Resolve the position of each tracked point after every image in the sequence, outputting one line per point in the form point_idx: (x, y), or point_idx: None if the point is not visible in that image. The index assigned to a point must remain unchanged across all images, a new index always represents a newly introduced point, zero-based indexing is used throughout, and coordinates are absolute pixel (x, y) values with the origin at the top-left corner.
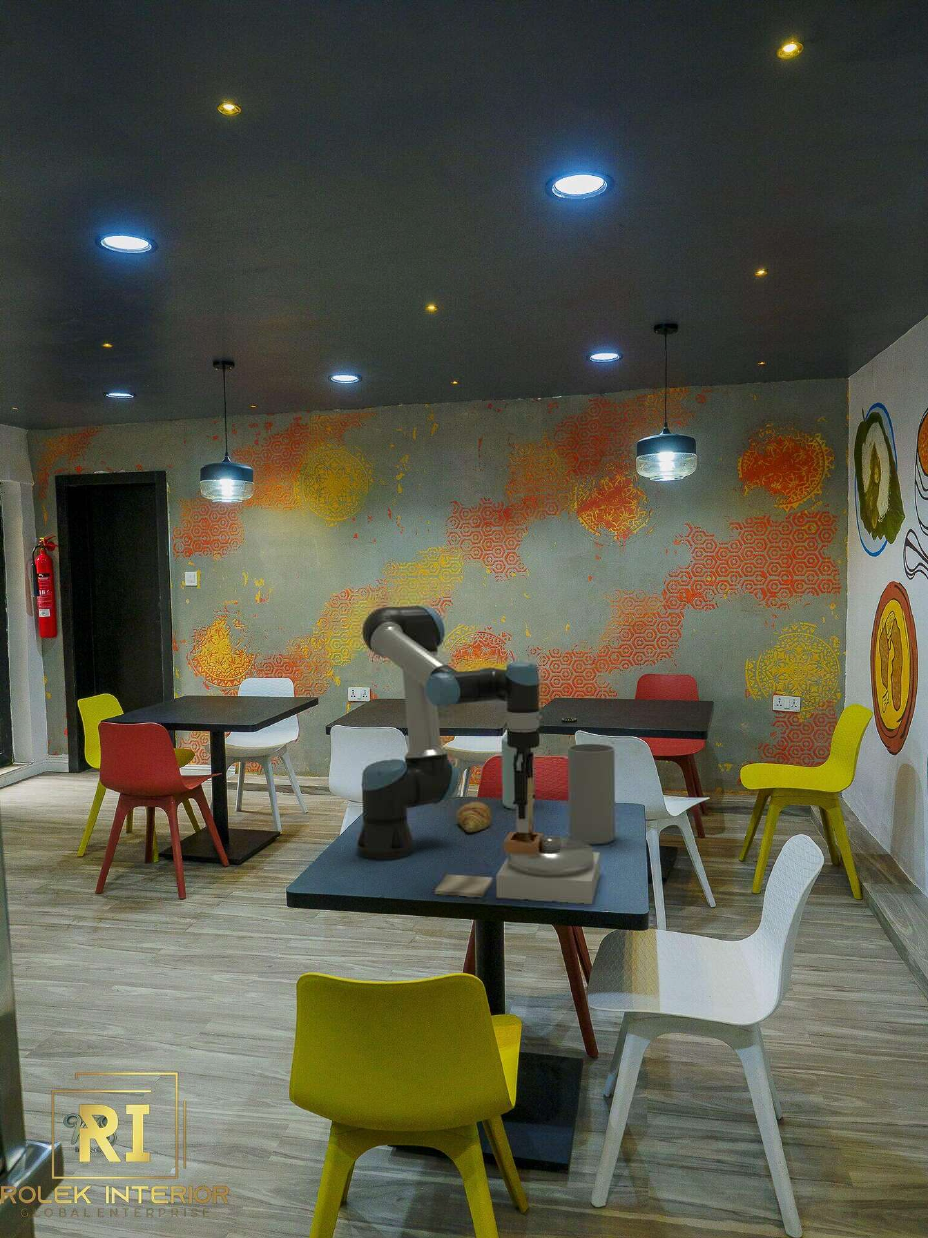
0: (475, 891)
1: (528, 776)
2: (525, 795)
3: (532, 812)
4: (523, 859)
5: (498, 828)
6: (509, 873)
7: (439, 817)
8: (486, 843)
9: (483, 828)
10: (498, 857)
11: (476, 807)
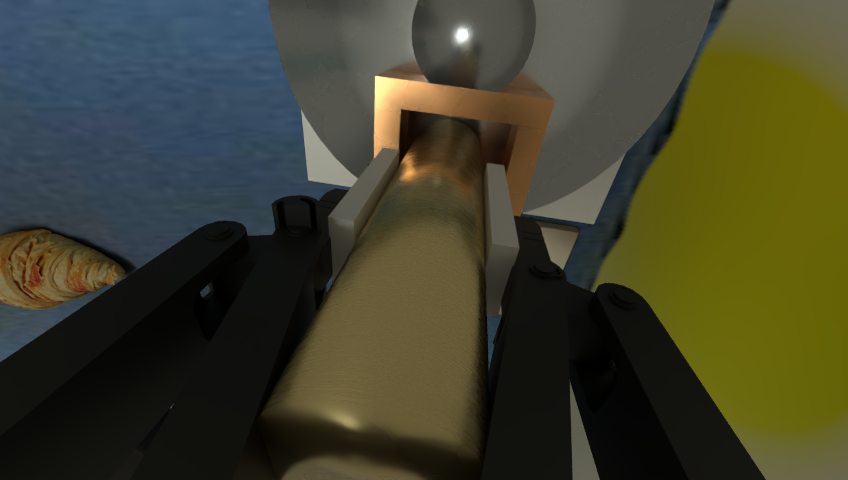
0: (558, 248)
1: (255, 437)
2: (645, 345)
3: (444, 180)
4: (617, 156)
5: (42, 207)
6: (582, 186)
7: (61, 318)
8: (169, 230)
9: (74, 241)
10: (260, 200)
11: (9, 282)
